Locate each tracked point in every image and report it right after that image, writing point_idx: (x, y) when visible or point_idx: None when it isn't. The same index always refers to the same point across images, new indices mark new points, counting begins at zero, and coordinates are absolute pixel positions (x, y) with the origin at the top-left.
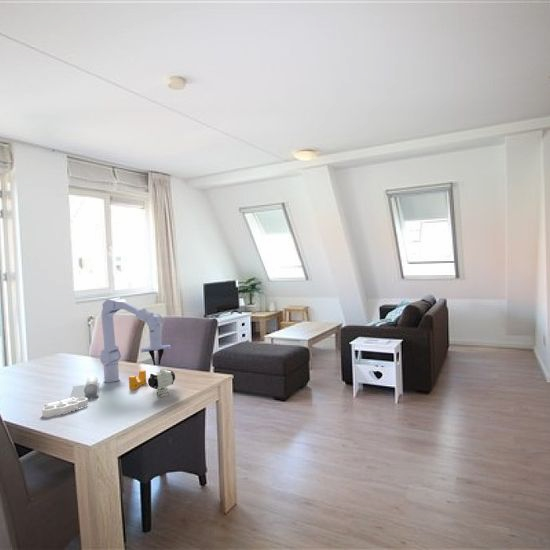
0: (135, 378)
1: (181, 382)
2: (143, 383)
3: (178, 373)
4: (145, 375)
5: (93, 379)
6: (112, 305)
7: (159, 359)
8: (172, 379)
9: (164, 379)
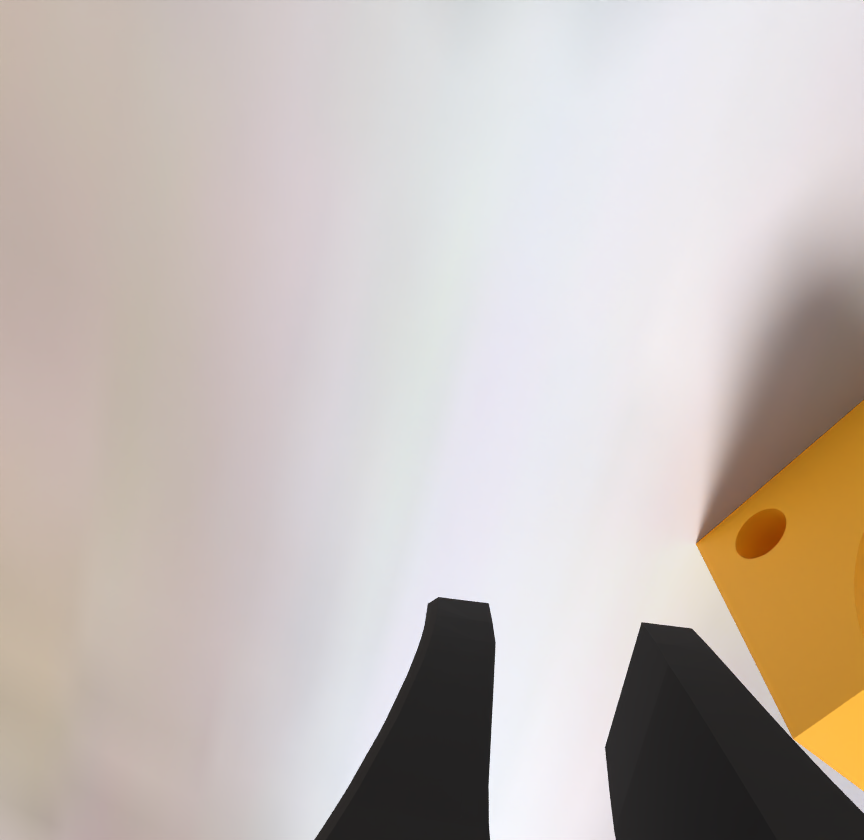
0: None
1: (4, 41)
2: (789, 472)
3: (27, 703)
4: (759, 630)
5: None
6: None
7: (460, 759)
8: None
9: None
